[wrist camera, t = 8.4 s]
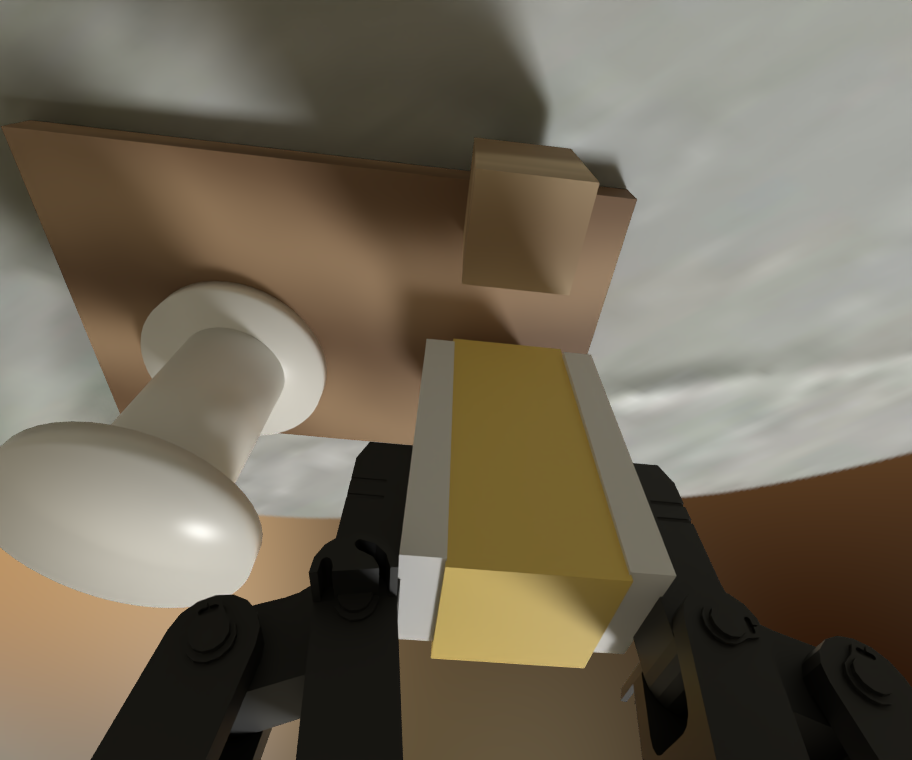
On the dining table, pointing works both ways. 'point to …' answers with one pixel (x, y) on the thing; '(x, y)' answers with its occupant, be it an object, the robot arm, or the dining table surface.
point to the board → (328, 251)
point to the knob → (166, 456)
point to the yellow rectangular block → (524, 517)
